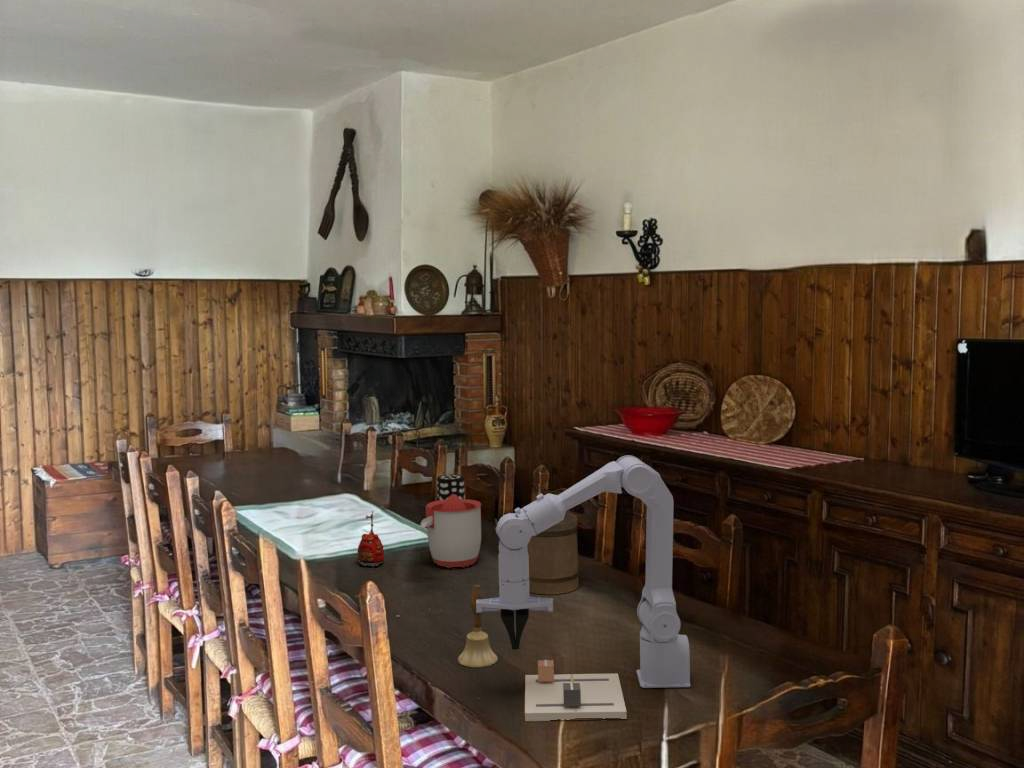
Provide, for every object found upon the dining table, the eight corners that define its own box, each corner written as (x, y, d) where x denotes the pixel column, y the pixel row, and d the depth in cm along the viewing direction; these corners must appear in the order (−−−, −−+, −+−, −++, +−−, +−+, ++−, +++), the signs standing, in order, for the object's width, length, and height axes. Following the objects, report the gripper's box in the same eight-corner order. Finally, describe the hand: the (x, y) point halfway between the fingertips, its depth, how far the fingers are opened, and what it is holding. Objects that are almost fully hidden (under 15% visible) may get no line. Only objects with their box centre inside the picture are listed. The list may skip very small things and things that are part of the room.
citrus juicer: (414, 561, 274) (411, 492, 272) (470, 553, 281) (468, 486, 279) (433, 575, 260) (430, 503, 258) (491, 566, 267) (489, 495, 265)
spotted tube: (436, 539, 298) (434, 475, 296) (462, 536, 301) (460, 473, 299) (442, 545, 290) (440, 480, 288) (469, 543, 293) (467, 478, 291)
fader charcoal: (579, 698, 175) (579, 682, 174) (580, 705, 172) (580, 689, 171) (563, 699, 175) (563, 682, 174) (564, 706, 172) (563, 689, 171)
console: (617, 680, 187) (617, 672, 187) (626, 719, 170) (626, 710, 170) (525, 682, 187) (525, 674, 187) (525, 721, 171) (524, 712, 170)
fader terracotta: (553, 675, 186) (553, 659, 185) (554, 681, 183) (553, 665, 182) (538, 675, 186) (537, 660, 185) (538, 681, 183) (537, 666, 182)
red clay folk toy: (354, 567, 270) (351, 515, 268) (364, 560, 276) (362, 509, 275) (378, 569, 268) (376, 516, 266) (389, 562, 274) (387, 510, 273)
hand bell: (497, 651, 204) (495, 578, 202) (498, 667, 196) (496, 590, 194) (458, 653, 204) (455, 579, 202) (457, 668, 195) (454, 592, 194)
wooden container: (579, 577, 255) (578, 496, 253) (577, 595, 240) (576, 509, 238) (523, 577, 256) (521, 496, 254) (518, 595, 241) (516, 509, 239)
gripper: (551, 571, 186) (553, 639, 187) (476, 572, 186) (478, 640, 187) (552, 582, 178) (554, 652, 180) (474, 583, 179) (476, 654, 180)
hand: (515, 647), depth 183 cm, fingers closed
